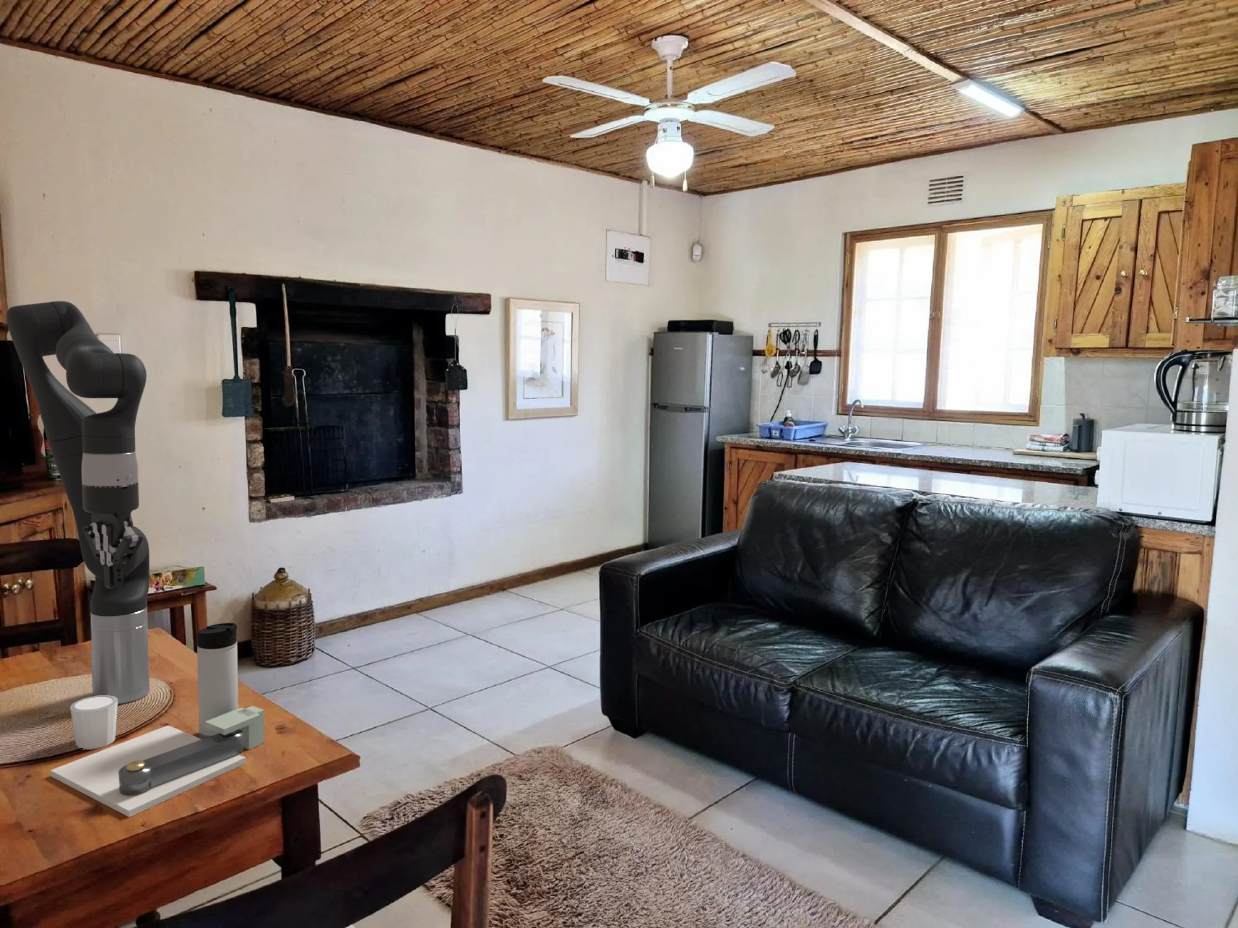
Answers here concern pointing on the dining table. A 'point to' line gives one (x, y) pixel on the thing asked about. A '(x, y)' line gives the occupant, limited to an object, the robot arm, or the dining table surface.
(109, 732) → the white cup
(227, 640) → the travel mug
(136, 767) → the link
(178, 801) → the dining table surface
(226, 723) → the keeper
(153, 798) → the base plate
